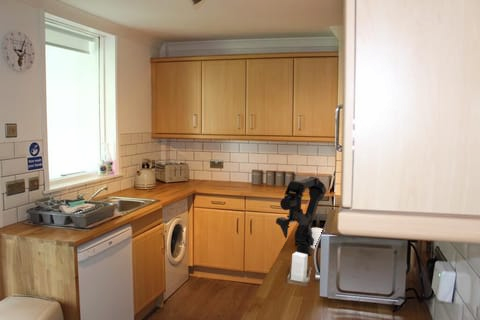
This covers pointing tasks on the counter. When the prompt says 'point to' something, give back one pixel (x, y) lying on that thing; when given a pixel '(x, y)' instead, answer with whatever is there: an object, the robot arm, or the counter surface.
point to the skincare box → (299, 266)
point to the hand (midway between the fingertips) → (293, 236)
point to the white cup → (316, 235)
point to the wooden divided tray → (300, 281)
